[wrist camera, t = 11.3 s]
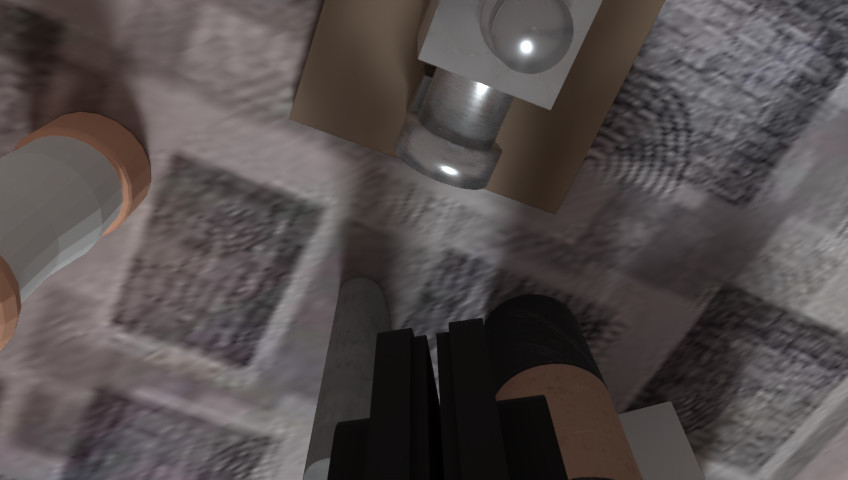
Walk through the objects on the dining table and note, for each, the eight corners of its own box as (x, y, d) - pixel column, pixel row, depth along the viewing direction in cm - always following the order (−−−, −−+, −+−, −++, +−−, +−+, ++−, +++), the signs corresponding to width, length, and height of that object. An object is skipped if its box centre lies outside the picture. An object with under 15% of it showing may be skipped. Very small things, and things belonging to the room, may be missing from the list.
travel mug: (526, 271, 48) (595, 490, 30) (602, 328, 50) (709, 564, 32) (456, 341, 50) (480, 583, 32) (531, 393, 52) (593, 645, 34)
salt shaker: (12, 133, 43) (-258, 284, 26) (114, 95, 42) (-96, 225, 25) (75, 231, 46) (-128, 425, 29) (171, 198, 45) (20, 378, 28)
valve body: (629, -151, 35) (703, -171, 26) (490, 159, 42) (511, 226, 33) (505, -208, 34) (538, -251, 25) (385, 120, 41) (377, 179, 32)
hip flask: (337, 277, 48) (291, 499, 30) (395, 276, 48) (383, 498, 30) (349, 449, 55) (317, 713, 37) (399, 448, 55) (392, 712, 37)
